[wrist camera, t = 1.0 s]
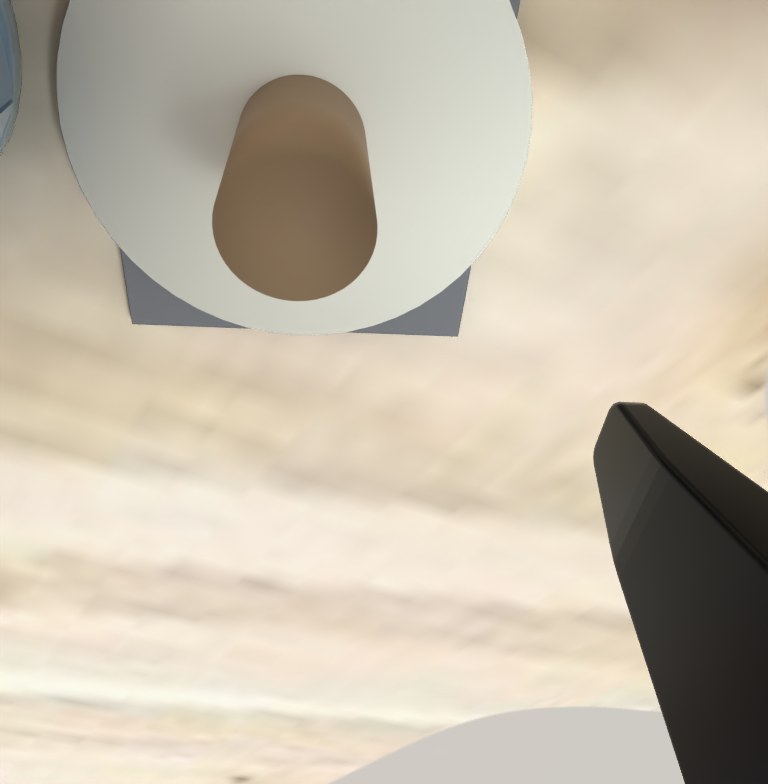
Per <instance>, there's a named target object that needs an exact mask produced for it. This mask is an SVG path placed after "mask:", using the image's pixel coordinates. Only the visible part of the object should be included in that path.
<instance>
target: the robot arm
mask: <svg viewBox="0 0 768 784" xmlns="http://www.w3.org/2000/svg"><path fill="white" fill-rule="evenodd" d="M593 459H594V467H595V472H596V477H597V482H598V488H599V493H600V498H601V503H602V508H603V513H604V518H605V523H606V528H607V533H608V538H609V543H610V548H611V552H612V556H613V561H614V564H615V568H616V571H617V575H618V578H619V581H620V584H621V587H622V590H623V593H624V597H625V600H626V603H627V606H628V609H629V612H630V615H631V618H632V621H633V624H634V627H635V631H636V634H637V637H638V640H639V643H640V646H641V649H642V652H643V655H644V658H645V661H646V665H647V668H648V671H649V674H650V677H651V680H652V683H653V686H654V689H655V692H656V695H657V699H658V702H659V705H660V708H661V711H662V714H663V717H664V720H665V723H666V726H667V729H668V733H669V736H670V739H671V742H672V745H673V748H674V751H675V754H676V757H677V760H678V763H679V766H680V770H681V773H682V776H683V779H684V782H685V784H768V492H767V491H766V490H764V489H763V488H762V487H760V486H759V485H758V484H756V483H755V482H753V481H752V480H751V479H749V478H748V477H746V476H745V475H744V474H742V473H741V472H740V471H738V470H737V469H735V468H734V467H733V466H731V465H730V464H729V463H727V462H726V461H724V460H723V459H722V458H720V457H719V456H717V455H716V454H715V453H713V452H712V451H711V450H709V449H708V448H706V447H705V446H704V445H702V444H701V443H700V442H698V441H697V440H695V439H694V438H693V437H691V436H690V435H689V434H687V433H686V432H684V431H683V430H682V429H680V428H679V427H677V426H676V425H675V424H673V423H672V422H671V421H669V420H668V419H666V418H665V417H664V416H662V415H661V414H660V413H658V412H657V411H655V410H654V409H653V408H651V407H650V406H648V405H647V404H644V403H635V402H617V403H615V404H613V405H612V406H611V408H610V410H609V411H608V414H607V417H606V419H605V422H604V424H603V427H602V429H601V432H600V435H599V437H598V440H597V442H596V445H595V448H594V456H593Z"/></svg>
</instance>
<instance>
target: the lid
mask: <svg viewBox="0 0 768 784" xmlns="http://www.w3.org/2000/svg"><path fill="white" fill-rule="evenodd" d="M57 100H58V108H59V116H60V125H61V129H62V133H63V137H64V141H65V145H66V149H67V153H68V157H69V159H70V162H71V164H72V167H73V170H74V172H75V175H76V177H77V180H78V182H79V185H80V187H81V189H82V191H83V193H84V195H85V196H86V198H87V200H88V202H89V204H90V206H91V208H92V209H93V211H94V213H95V215H96V216H97V218H98V219H99V220H100V222H101V223H102V225H103V226H104V228H105V229H106V230H107V232H108V233H109V235H110V236H111V238H112V239H113V240H114V241H115V242H116V243H117V245H118V246H119V247H120V248H121V249H122V250H123V251H124V252H125V254H126V255H127V256H128V257H129V258H130V259H131V260H132V261H133V262H134V263H135V264H136V265H137V266H138V267H139V268H140V269H142V270H143V271H144V272H145V273H146V274H147V275H148V276H149V277H150V278H151V279H153V280H154V281H155V282H157V283H158V284H160V285H161V286H162V287H164V288H165V289H166V290H168V291H169V292H171V293H172V294H173V295H175V296H176V297H178V298H180V299H182V300H183V301H185V302H187V303H189V304H190V305H192V306H194V307H196V308H197V309H199V310H202V311H204V312H206V313H208V314H211V315H213V316H215V317H217V318H220V319H222V320H225V321H228V322H231V323H234V324H237V325H241V326H244V327H247V328H251V329H256V330H261V331H266V332H271V333H279V334H290V335H327V334H335V333H343V332H350V331H354V330H358V329H362V328H366V327H371V326H374V325H377V324H380V323H382V322H385V321H388V320H391V319H393V318H396V317H398V316H400V315H402V314H404V313H406V312H408V311H410V310H412V309H414V308H416V307H419V306H420V305H422V304H423V303H425V302H426V301H428V300H429V299H431V298H433V297H434V296H436V295H437V294H439V293H440V292H442V291H443V290H444V289H445V288H446V287H448V286H449V285H450V284H451V283H452V282H454V281H455V280H456V279H457V278H458V277H460V276H461V275H462V274H463V273H464V272H465V271H466V269H467V268H468V267H469V266H470V265H471V264H472V263H473V262H474V261H475V260H476V259H477V258H478V257H479V256H480V254H481V253H482V252H483V250H484V249H485V248H486V246H487V245H488V243H489V242H490V241H491V239H492V238H493V237H494V235H495V234H496V232H497V230H498V229H499V227H500V225H501V223H502V222H503V220H504V218H505V216H506V215H507V213H508V211H509V209H510V206H511V204H512V201H513V199H514V197H515V194H516V192H517V190H518V187H519V184H520V181H521V177H522V174H523V170H524V167H525V163H526V160H527V155H528V148H529V142H530V135H531V129H532V88H531V78H530V68H529V62H528V58H527V54H526V49H525V45H524V41H523V37H522V32H521V30H520V27H519V25H518V22H517V19H516V17H515V14H514V11H513V9H512V6H511V4H510V1H509V0H70V2H69V6H68V9H67V12H66V15H65V19H64V22H63V25H62V31H61V37H60V44H59V51H58V57H57Z"/></svg>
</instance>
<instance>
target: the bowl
mask: <svg viewBox="0 0 768 784" xmlns="http://www.w3.org/2000/svg"><path fill="white" fill-rule="evenodd" d="M20 91H21V52H20V46H19V39H18V32H17V25H16V21H15V17H14V13H13V10H12V6H11V2H10V0H0V157H1V155H2V153H3V151H4V149H5V147H6V145H7V143H8V141H9V138H10V136H11V134H12V130H13V127H14V123H15V120H16V116H17V113H18V107H19V99H20Z"/></svg>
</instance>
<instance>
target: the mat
mask: <svg viewBox="0 0 768 784" xmlns="http://www.w3.org/2000/svg"><path fill="white" fill-rule="evenodd" d="M509 1H510V4H511V6H512V9H513V11H514V14H515V17H516V19H517V15H518V10H519V4H520V0H509ZM121 254H122V261H123V267H124V274H125V280H126V287H127V293H128V300H129V306H130V313H131V319H132V324H145V325H171V326H197V327H223V328H247V327H244V326H241V325H237V324H234V323H231V322H228V321H225V320H222V319H220V318H217V317H215V316H213V315H211V314H208V313H206V312H204V311H202V310H199V309H197V308H196V307H194V306H192V305H190V304H189V303H187V302H185V301H183V300H182V299H180V298H178V297H176V296H175V295H173V294H172V293H171V292H169V291H168V290H166V289H165V288H164V287H162V286H161V285H160V284H158V283H157V282H155V281H154V280H153V279H151V278H150V277H149V276H148V275H147V274H146V273H145V272H144V271H143V270H142V269H140V268H139V267H138V266H137V265H136V264H135V263H134V262H133V261H132V260H131V259H130V258H129V257H128V256H127V255H126V254H125V252H124V251H123V250H122V249H121ZM470 269H471V265H470V266H469V267H468V268H467V269H466V271H465V272H464V273H463V274H462V275H461V276H460V277H458V278H457V279H456V280H455V281H454V282H452V283H451V284H450V285H449V286H448V287H446V288H445V289H444V290H443V291H442V292H440V293H439V294H437V295H436V296H434V297H433V298H431V299H429V300H428V301H426V302H425V303H423V304H422V305H420V306H419V307H416V308H414V309H412V310H410V311H408V312H406V313H404V314H402V315H400V316H398V317H396V318H393V319H391V320H388V321H385V322H382V323H380V324H377V325H374V326H371V327H366V328H362V329H358V330H354V331H350V332H353V333H379V334H405V335H431V336H457V337H458V333H459V328H460V322H461V317H462V312H463V306H464V301H465V295H466V290H467V285H468V279H469V274H470ZM249 329H251V328H249Z"/></svg>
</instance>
